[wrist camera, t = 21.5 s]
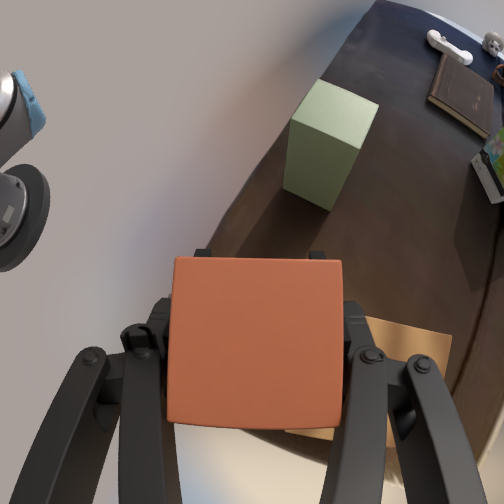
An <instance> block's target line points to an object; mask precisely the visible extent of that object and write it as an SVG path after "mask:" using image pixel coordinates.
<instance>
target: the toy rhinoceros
mask: <svg viewBox="0 0 504 504" xmlns="http://www.w3.org/2000/svg"><path fill="white" fill-rule="evenodd" d="M482 44H483V46H482V48H483V49H484V50H485V51H487V52H488V51H489V53H490V54H491V55H492V56H493V57H497V54H498V52H500V51H502V50H503V48H504V42H503V39H502V38H501V36H500V35H499V34H497V33H495V32H489V33H487V34H486V35H485V38H484V41H483V42H482Z"/></svg>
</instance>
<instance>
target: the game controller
mask: <svg viewBox="0 0 504 504" xmlns="http://www.w3.org/2000/svg"><path fill="white" fill-rule="evenodd" d="M445 39H446V38H445V37H443V38H442V37H440V33H438V32H437V31H435V30H430V31H429V32H428V34H427V40H428V42H429V44H430V45H431V46H432V47H434V48H436V49H438V50H440V51H441V52H443V53H446V54H447V55H449V56H451V57H452V58H454V59H455V60H457V61H459V62H460V63H462V64H463V65H469V64H470V63H471V62H472V60H473V57H472V55H471V54H470V53H469V52H467V51H461V50H459V49H457V48H456V47H454V46H453V45H451V44H450V43H448V42H447V41H446V40H445Z"/></svg>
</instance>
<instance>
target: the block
mask: <svg viewBox="0 0 504 504" xmlns="http://www.w3.org/2000/svg"><path fill="white" fill-rule="evenodd" d="M342 388H343V281H342V262H341V261H340V260H317V259H264V258H217V257H176V258H175V262H174V273H173V284H172V296H171V310H170V326H169V345H168V369H167V421H168V422H170V423H178V424H187V425H195V426H205V427H217V428H232V429H256V430H300V429H323V428H337V427H340V425H341V410H342Z"/></svg>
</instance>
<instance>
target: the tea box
mask: <svg viewBox="0 0 504 504" xmlns="http://www.w3.org/2000/svg"><path fill="white" fill-rule="evenodd" d="M471 163H472V165H473V167H474V169H475V171H476V173H477V175H478V177H479V179H480V181H481V183H482V185H483V187H484V189H485V191H486V193H487V196H488V198H489V200H490V202H491V204H494V203H499V202H502V201H504V127H503V128H502V129H501V130H500V131H499V132H498V133H497V135H496V136H495V137H494V138H493V139H492V140H491V141H490V142H489V143H488V144H487V145H486V146H485V147H484V148H483V149H482V150H481V151H480V152H479V153H478V154H477V155H476V156H475V157H474V158H473V159H472V160H471Z"/></svg>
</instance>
